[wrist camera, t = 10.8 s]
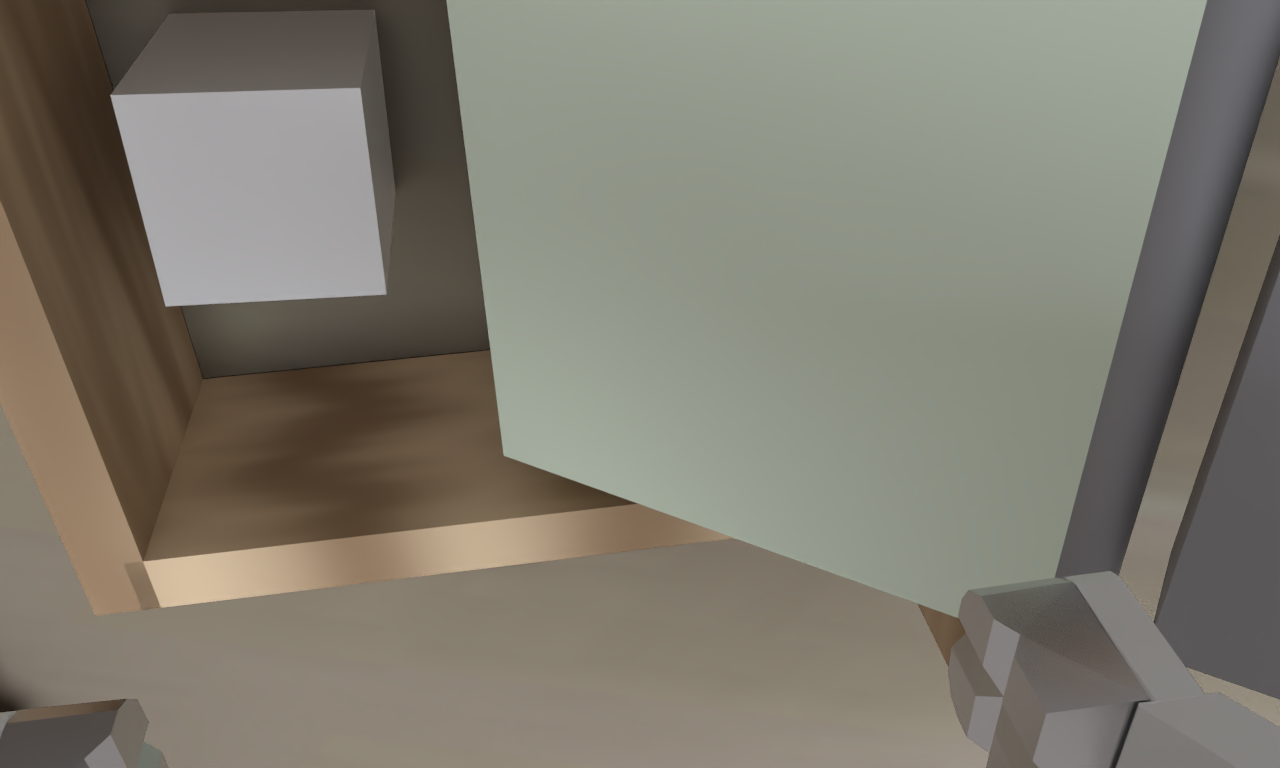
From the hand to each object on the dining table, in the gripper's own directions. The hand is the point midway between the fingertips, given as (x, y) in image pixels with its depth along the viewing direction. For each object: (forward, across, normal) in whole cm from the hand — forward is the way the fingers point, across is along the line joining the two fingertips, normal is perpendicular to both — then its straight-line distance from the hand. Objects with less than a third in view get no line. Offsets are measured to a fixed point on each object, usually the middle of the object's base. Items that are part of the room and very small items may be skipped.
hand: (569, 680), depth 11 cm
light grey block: (+13, +5, 0) cm, 14 cm away
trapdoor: (+9, -7, 0) cm, 11 cm away
